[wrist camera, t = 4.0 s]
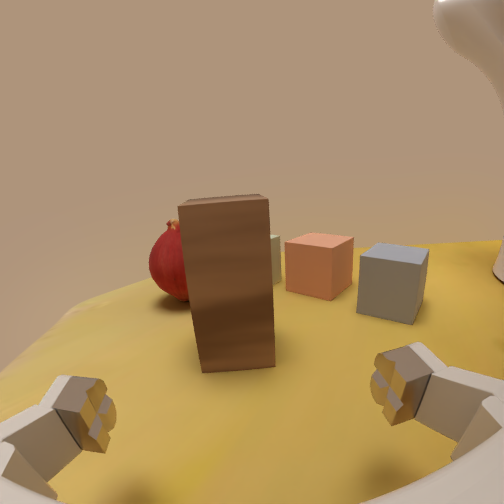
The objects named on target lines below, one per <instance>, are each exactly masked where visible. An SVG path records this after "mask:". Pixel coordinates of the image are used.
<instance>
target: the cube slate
mask: <svg viewBox="0 0 504 504" xmlns="http://www.w3.org/2000/svg"><path fill="white" fill-rule="evenodd" d="M428 257H429V249H424V248H417V247H409V246H401V245H394V244H386V243H377V244H376V245H375V246H373V247H372V248H370V249H369V250H367V251H366V252H365V253H363V254H362V255H360V270H359V286H358V299H357V310H356V313H360V314H364V315H369V316H373V317H377V318H382V319H386V320H391V321H395V322H400V323H405V324H409V325H412V324H413V322H414V320H415V318H416V315H417V313H418V311H419V308H420V306H421V304H422V301H423V295H424V289H425V282H426V274H427V266H428Z"/></svg>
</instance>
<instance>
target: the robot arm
mask: <svg viewBox="0 0 504 504" xmlns="http://www.w3.org/2000/svg"><path fill="white" fill-rule="evenodd" d="M433 17H434V22H435V25H436V27H437V30H438V32H439V33H440V35H441V37H442V38H443V40H444V41H445V42H446V43H447V44H448V45H449V46H450V48H452V49H453V50H454V51H455V52H456V53H457V54H459V55H460V56H462V57H464V58H466V59H467V60H469V61H470V62H472V63H473V64H474V65H475V66H477V67H478V68H479V69H480V70H481V71H482V72H483V73H484V74H485V76H486V77H487V78H488V79H489V81H490V82H491V84H492V85H493V87H494V89H495V90H496V93H497V95H498V97H499V99H500V102H501V105H502V108H503V112H504V0H435V2H434V6H433ZM493 272H494V274H495V275H496V276H497V277H498V278H499V279H500V280H502V281H503V282H504V237H503V241H502V245H501V248H500V251H499V254H498V257H497V259H496V262H495V264H494V266H493ZM374 365H375V367H376V368H377V370H376V371H375V372H374V373H373V375H372V376H371V382H370V387H371V393H372V396H373V398H374V400H375V402H376V403H377V404H379V405H382V406H384V407H383V411H382V413H383V414H384V416H385V417H386V419H387V421H388V422H389V424H390V425H391V426H394V425H397V424H400V423H403V422H405V421H408V420H411V419H414V418H415V419H414V420H416V421H418V422H420V423H422V424H424V425H426V426H427V427H429V428H431V429H433V430H435V431H437V432H439V433H441V434H443V435H445V436H447V437H449V438H451V439H452V440H454V441H456V442H458V444H457V445H456V447H455V448H454V450H453V452H452V453H451V456H450V457H451V458H452V460H453V462H451V463H449V464H448V465H446V466H444V467H442V468H440V469H438V470H437V471H435V472H433V473H431V474H429V475H427V476H425V477H423V478H421V479H419V480H417V481H415V482H412V483H410V484H408V485H406V486H404V487H401V488H399V489H397V490H394V491H392V492H389V493H387V494H384V495H381V496H379V497H376V498H373V499H370V500H368V501H365V502H362V503H359V504H504V380H501V379H497V378H493V377H489V376H486V375H482V374H478V373H475V372H471V371H467V370H464V369H460V368H457V367H453V366H450V367H447V366H446V365H445V364H444V363H443V362H442V361H441V360H440V359H439V358H437V357H436V356H435V355H434V354H433V353H432V352H431V351H430V350H429V349H428V348H427V347H426V346H425V345H423V344H422V343H420V342H415V343H412V344H409V345H406V346H404V347H400V348H397V349H393V350H390V351H386V352H382V353H378V354H377V356H376V358H375V362H374ZM106 392H107V387H106V385H105V383H104V381H103V380H101V379H96V378H87V377H78V376H68V375H60V376H58V377H57V378H56V380H55V381H54V382H53V384H52V385H51V387H50V388H49V390H48V391H47V393H46V394H45V396H44V397H43V399H42V400H41V402H40V403H39V405H33V406H31V407H29V408H27V409H26V410H24V411H22V412H20V413H18V414H16V415H14V416H13V417H11V418H9V419H7V420H5V421H3V422H1V423H0V504H66V503H63V502H60V501H57V500H56V499H57V496H58V495H57V493H56V491H55V490H54V489H53V488H52V487H51V486H50V485H49V484H48V483H47V482H48V481H49V480H50V479H52V478H53V477H54V476H55V475H56V474H57V473H58V472H60V471H61V470H62V469H63V468H64V467H65V466H66V465H67V464H69V463H70V462H71V461H72V460H73V459H74V458H75V457H76V456H77V455H79V454H80V453H81V452H82V450H85V451H91V452H97V453H104V454H105V453H106V450H107V447H108V444H109V441H110V436H109V434H108V432H109V431H110V430H112V429H113V428H114V426H115V423H116V408H115V405H114V403H113V400H112V399H111V398H109V397H108V396H107V395H106Z"/></svg>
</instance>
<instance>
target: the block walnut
mask: <svg viewBox="0 0 504 504" xmlns="http://www.w3.org/2000/svg"><path fill="white" fill-rule="evenodd" d="M178 215H179V225H180V234H181V243H182V251H183V259H184V267H185V274H186V281H187V288H188V295H189V301H190V308H191V314H192V320H193V326H194V332H195V337H196V343H197V348H198V354H199V359H200V364H201V369H202V373H211V372H226V371H238V370H249V369H259V368H267V367H275V336H274V308H273V282H272V259H271V238H270V219H269V202H268V199H267V198H266V197H264V196H261V195H259V194H250V195H236V196H224V197H212V198H201V199H190V200H187V201H186V202H184V203H182V204H181V205H179V206H178Z"/></svg>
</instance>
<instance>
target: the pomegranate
mask: <svg viewBox="0 0 504 504" xmlns="http://www.w3.org/2000/svg"><path fill="white" fill-rule="evenodd" d="M167 225H168V229H167V231H166V232H164V233H163V234H162V235H161V236H160V237H159V239H158V240H157V241H156V243H155V245H154V246H153V248H152V251H151V254H150V257H149V270H150V273H151V276H152V278H153V280H154V281H155V282H156V284H157V285H158V286H159V288H161V289H162V290H164V291H165V292H167V293H169V294H171V295H173V296H174V297H176V298H177V299H178V300H180V301H188V300H189V295H188V288H187V281H186V274H185V267H184V259H183V251H182V243H181V234H180V225H179V221H178V220H176V219H171V220H169V221H168V223H167Z"/></svg>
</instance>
